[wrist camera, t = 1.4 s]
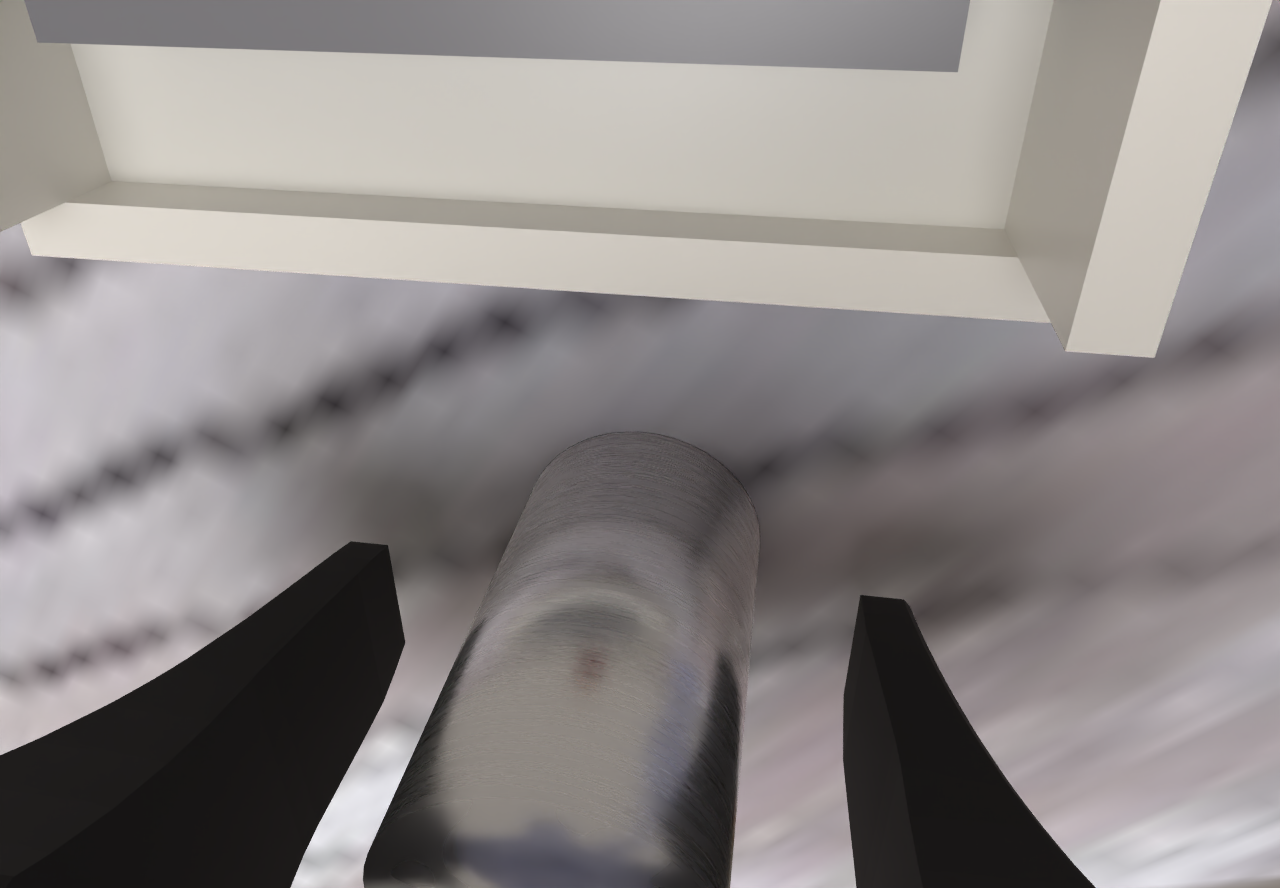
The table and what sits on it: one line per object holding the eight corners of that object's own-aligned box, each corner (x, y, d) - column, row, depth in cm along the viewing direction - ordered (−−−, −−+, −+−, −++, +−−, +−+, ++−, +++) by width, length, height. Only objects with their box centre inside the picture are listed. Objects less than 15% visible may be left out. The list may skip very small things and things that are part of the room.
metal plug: (768, 443, 15) (734, 832, 9) (751, 632, 17) (716, 1045, 11) (521, 421, 15) (333, 775, 9) (535, 607, 17) (390, 989, 11)
